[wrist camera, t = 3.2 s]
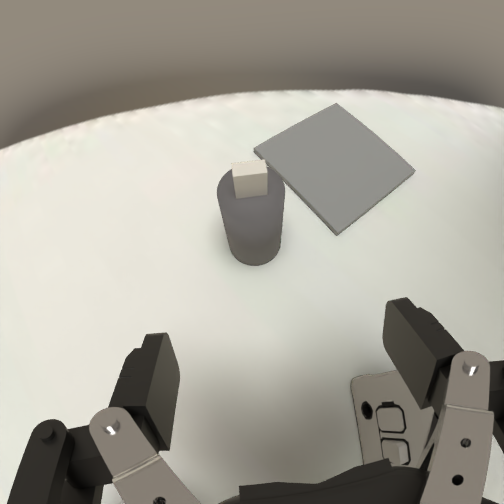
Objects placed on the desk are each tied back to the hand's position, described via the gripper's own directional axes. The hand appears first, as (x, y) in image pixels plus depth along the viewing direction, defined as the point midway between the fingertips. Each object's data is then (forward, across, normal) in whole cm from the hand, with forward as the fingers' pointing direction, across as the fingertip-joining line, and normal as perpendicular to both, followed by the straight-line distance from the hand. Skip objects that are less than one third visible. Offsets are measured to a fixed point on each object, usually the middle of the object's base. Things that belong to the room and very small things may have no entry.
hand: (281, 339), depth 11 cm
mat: (+23, -9, -3) cm, 25 cm away
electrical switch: (+5, -8, +15) cm, 18 cm away
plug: (+17, 0, +3) cm, 17 cm away
